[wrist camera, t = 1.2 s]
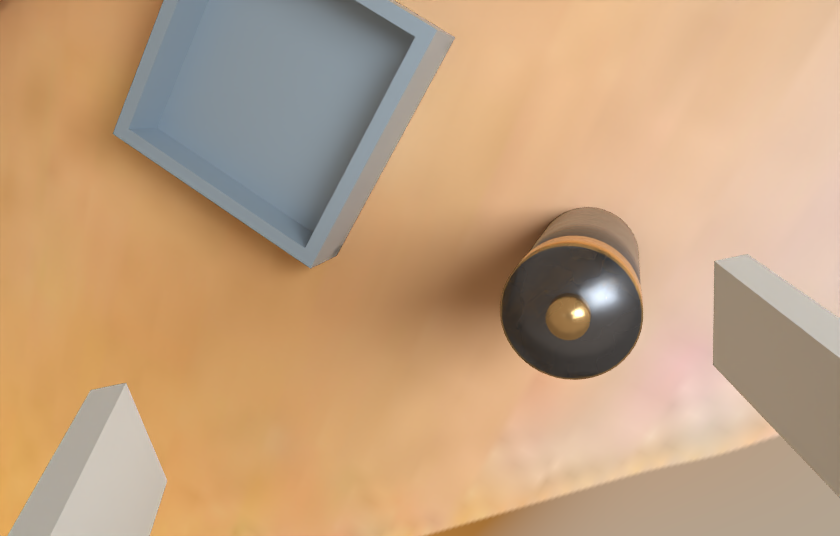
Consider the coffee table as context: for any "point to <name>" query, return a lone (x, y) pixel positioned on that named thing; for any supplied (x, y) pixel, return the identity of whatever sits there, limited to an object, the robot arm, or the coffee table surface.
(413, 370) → the coffee table surface
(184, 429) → the coffee table surface
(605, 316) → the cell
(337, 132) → the tray
